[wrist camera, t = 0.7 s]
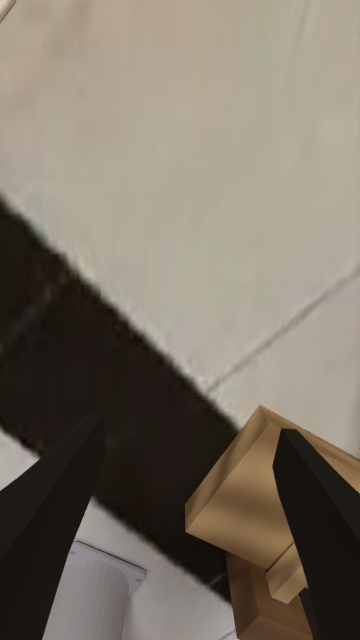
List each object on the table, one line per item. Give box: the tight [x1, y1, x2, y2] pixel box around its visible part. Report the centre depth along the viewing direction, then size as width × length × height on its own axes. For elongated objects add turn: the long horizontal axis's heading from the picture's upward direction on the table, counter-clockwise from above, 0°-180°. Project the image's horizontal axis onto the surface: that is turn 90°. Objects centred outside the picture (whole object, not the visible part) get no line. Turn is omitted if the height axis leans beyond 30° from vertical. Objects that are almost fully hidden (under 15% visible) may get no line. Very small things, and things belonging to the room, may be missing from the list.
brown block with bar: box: [225, 543, 313, 640], centre depth 23 cm, size 11×5×6 cm, turn 149°
